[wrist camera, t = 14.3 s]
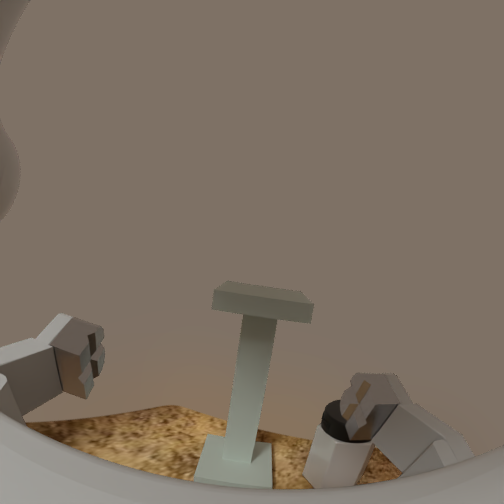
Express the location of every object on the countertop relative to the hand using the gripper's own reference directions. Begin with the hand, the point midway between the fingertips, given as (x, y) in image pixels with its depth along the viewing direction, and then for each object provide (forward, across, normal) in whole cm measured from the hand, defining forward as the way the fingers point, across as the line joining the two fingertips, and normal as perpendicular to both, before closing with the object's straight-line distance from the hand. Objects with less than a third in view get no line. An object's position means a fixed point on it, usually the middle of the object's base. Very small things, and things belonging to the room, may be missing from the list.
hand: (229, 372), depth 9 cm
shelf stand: (+16, -7, +33) cm, 37 cm away
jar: (+13, -20, +31) cm, 39 cm away
